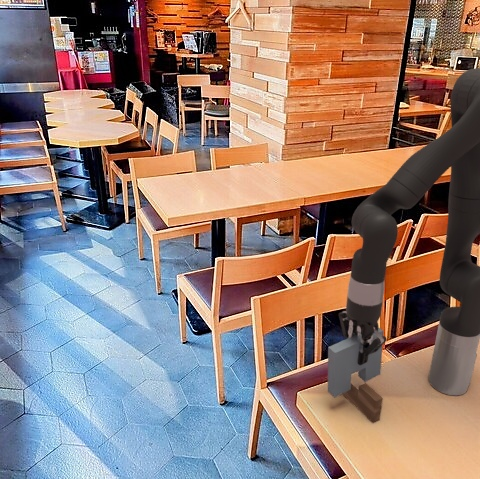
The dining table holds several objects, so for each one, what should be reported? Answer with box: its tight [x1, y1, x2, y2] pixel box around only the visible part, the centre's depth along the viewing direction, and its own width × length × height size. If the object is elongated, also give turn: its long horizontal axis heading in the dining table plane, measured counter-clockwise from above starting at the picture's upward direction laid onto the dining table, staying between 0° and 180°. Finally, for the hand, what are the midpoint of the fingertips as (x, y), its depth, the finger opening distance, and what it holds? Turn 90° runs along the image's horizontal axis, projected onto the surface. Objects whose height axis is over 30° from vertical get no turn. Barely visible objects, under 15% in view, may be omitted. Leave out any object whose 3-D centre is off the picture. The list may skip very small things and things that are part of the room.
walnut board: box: [342, 382, 384, 424], centre depth 109 cm, size 2×16×6 cm, turn 28°
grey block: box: [327, 327, 384, 399], centre depth 106 cm, size 14×2×13 cm, turn 118°
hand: (357, 359), depth 106 cm, fingers closed on grey block, 2 cm apart
